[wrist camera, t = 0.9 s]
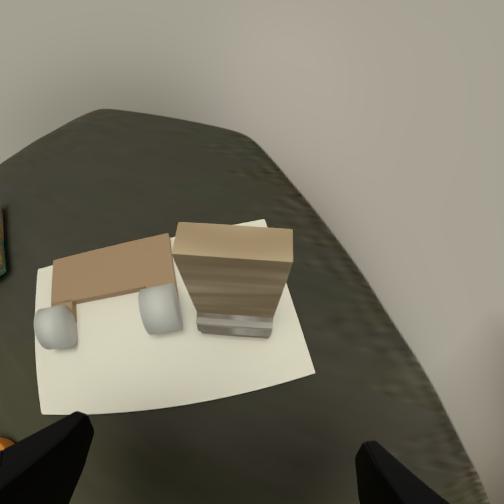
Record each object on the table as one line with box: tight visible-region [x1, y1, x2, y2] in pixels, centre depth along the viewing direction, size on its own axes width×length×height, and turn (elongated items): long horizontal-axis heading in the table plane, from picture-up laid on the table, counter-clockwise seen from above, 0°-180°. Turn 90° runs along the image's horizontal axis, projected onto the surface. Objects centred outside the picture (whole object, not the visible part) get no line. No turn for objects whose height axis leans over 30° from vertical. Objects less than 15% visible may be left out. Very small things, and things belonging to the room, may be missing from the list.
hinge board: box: [34, 219, 315, 415], centre depth 20 cm, size 14×23×4 cm, turn 105°
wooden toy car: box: [172, 222, 293, 338], centre depth 17 cm, size 3×5×11 cm
